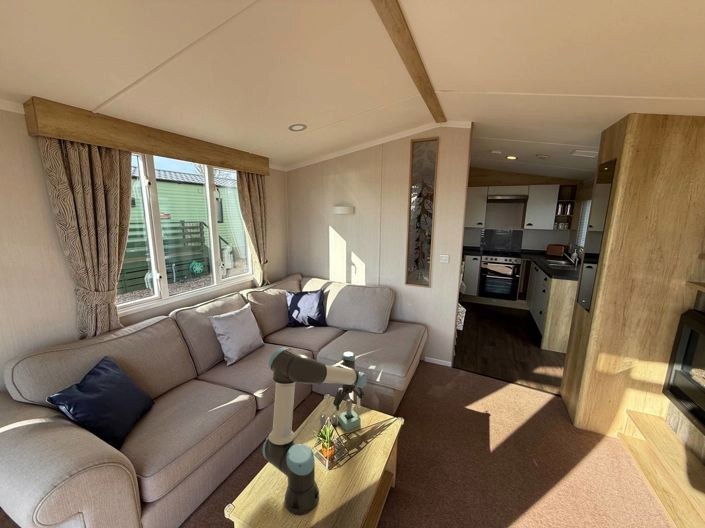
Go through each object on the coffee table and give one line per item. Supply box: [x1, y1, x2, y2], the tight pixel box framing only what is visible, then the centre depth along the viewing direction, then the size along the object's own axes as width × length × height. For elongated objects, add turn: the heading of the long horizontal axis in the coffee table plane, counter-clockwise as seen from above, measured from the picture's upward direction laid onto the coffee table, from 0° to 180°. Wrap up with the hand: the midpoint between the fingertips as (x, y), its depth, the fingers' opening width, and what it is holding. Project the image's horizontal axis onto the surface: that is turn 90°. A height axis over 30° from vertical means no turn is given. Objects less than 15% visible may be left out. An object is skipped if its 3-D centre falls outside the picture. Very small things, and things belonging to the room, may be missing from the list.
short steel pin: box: [330, 414, 338, 427], centre depth 181 cm, size 3×3×5 cm
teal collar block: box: [337, 408, 362, 432], centre depth 182 cm, size 10×10×4 cm
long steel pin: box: [345, 398, 353, 420], centre depth 181 cm, size 3×3×15 cm
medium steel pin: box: [319, 413, 326, 431], centre depth 176 cm, size 3×3×9 cm
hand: (349, 410), depth 181 cm, fingers open, 13 cm apart
